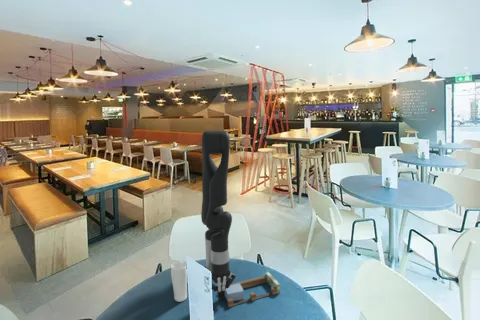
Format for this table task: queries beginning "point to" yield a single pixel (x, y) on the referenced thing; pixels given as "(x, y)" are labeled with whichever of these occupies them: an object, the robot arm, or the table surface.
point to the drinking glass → (179, 280)
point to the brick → (234, 292)
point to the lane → (256, 281)
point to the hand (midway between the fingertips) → (221, 298)
